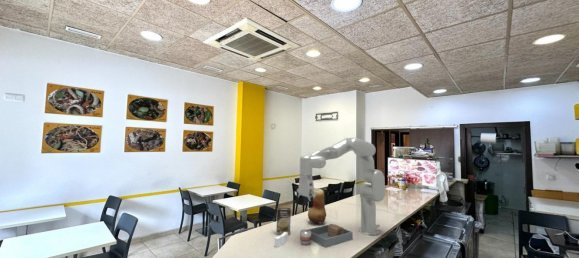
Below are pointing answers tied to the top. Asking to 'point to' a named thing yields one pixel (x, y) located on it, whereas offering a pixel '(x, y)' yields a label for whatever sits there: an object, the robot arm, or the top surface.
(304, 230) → the can
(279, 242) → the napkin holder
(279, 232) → the coffee box
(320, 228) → the crate
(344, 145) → the robot arm
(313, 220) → the butternut squash
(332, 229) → the brown block
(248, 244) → the top surface
